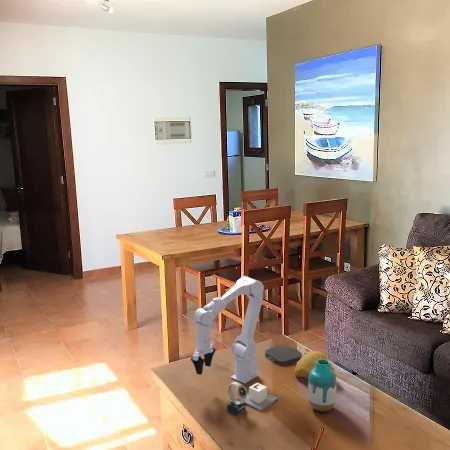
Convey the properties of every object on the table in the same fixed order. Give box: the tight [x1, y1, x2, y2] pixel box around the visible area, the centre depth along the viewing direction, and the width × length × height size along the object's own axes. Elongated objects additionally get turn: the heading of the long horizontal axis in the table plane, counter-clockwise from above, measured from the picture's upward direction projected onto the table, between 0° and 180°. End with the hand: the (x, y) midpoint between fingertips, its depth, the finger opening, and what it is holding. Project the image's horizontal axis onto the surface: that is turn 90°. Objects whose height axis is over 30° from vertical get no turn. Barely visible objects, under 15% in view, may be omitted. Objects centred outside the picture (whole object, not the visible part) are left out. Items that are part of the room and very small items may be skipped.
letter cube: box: [248, 382, 268, 404], centre depth 195 cm, size 5×5×5 cm
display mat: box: [244, 392, 278, 412], centre depth 196 cm, size 11×11×1 cm
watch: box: [226, 381, 248, 416], centre depth 188 cm, size 6×8×11 cm
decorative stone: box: [294, 350, 335, 379], centre depth 213 cm, size 13×15×15 cm
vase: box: [307, 359, 337, 412], centre depth 189 cm, size 11×11×19 cm
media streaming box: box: [264, 345, 303, 366], centre depth 234 cm, size 15×15×3 cm
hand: (203, 369), depth 201 cm, fingers open, 7 cm apart
